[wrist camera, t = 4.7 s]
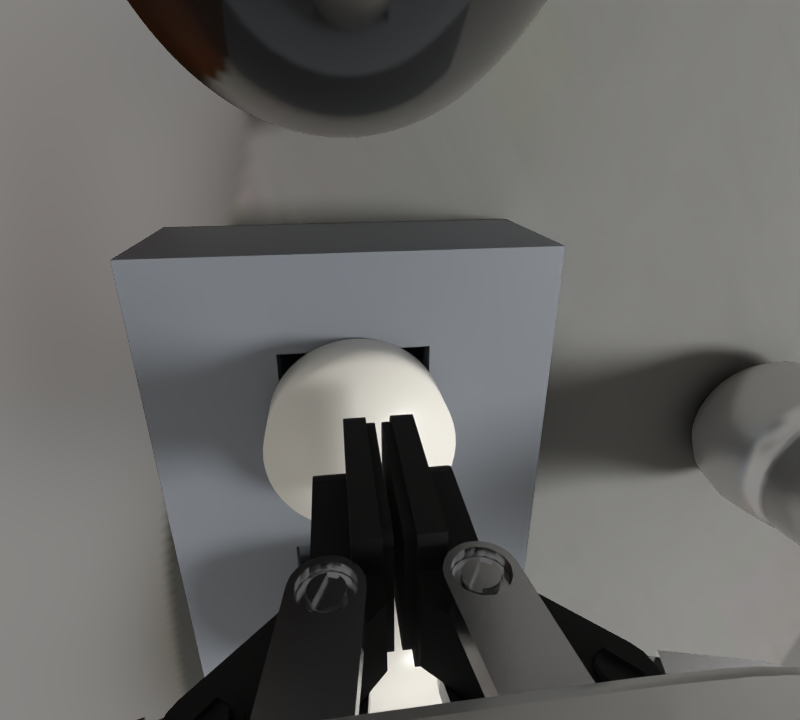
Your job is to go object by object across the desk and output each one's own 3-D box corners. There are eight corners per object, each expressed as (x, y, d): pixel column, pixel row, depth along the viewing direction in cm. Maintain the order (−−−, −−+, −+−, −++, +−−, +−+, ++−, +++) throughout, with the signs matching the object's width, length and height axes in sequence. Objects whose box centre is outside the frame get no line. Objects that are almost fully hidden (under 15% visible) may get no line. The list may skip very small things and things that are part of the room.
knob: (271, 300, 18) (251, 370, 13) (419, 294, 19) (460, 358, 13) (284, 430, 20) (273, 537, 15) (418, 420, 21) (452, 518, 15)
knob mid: (285, 503, 19) (273, 647, 14) (427, 490, 20) (467, 622, 14) (297, 607, 21) (290, 767, 16) (424, 592, 22) (459, 740, 16)
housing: (163, 227, 18) (110, 260, 13) (506, 219, 19) (565, 246, 15) (247, 695, 27) (233, 808, 23) (471, 664, 29) (499, 764, 24)
